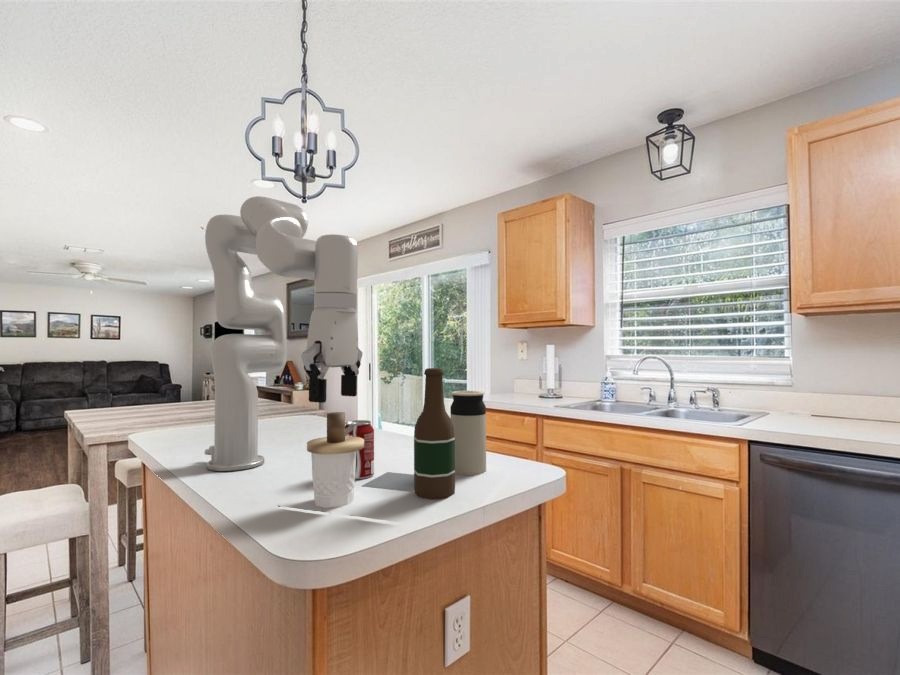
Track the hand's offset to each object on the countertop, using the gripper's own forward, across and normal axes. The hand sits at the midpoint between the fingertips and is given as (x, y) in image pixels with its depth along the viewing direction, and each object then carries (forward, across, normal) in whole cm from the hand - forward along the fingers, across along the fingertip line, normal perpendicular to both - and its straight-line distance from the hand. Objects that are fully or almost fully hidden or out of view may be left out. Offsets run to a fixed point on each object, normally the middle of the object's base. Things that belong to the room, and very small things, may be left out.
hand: (333, 398), depth 83 cm
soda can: (+19, -16, -4) cm, 25 cm away
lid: (+9, 0, +1) cm, 9 cm away
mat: (+19, -14, +6) cm, 24 cm away
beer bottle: (+19, -10, +16) cm, 26 cm away
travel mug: (+19, -28, +17) cm, 37 cm away
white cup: (+19, 0, +1) cm, 19 cm away
